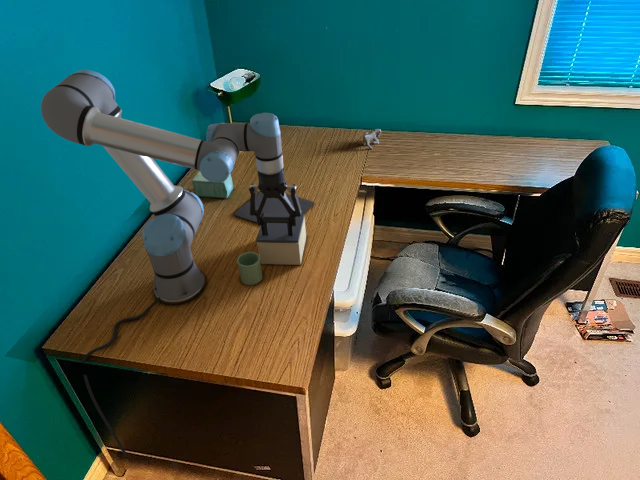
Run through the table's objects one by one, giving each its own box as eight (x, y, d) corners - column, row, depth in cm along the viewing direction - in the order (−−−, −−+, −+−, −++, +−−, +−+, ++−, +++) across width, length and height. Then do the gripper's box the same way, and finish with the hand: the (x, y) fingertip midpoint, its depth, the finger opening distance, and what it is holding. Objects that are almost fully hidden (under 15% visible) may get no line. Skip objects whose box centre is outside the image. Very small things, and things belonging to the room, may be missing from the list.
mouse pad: (314, 202, 182) (314, 202, 182) (284, 232, 168) (284, 231, 168) (264, 188, 191) (264, 187, 191) (232, 214, 178) (232, 214, 178)
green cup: (257, 286, 147) (254, 268, 143) (237, 283, 149) (233, 264, 144) (265, 271, 152) (263, 253, 148) (245, 268, 154) (242, 250, 149)
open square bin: (300, 265, 154) (298, 243, 149) (260, 263, 156) (256, 242, 150) (306, 237, 166) (304, 216, 160) (268, 236, 167) (265, 215, 162)
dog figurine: (369, 151, 212) (369, 135, 208) (359, 147, 215) (359, 131, 211) (385, 140, 219) (386, 125, 215) (375, 137, 222) (375, 122, 218)
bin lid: (298, 243, 148) (296, 222, 143) (255, 242, 149) (253, 221, 145) (304, 215, 160) (303, 196, 156) (265, 215, 162) (263, 195, 157)
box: (228, 198, 187) (224, 182, 182) (195, 196, 189) (191, 180, 185) (234, 188, 193) (231, 172, 188) (202, 187, 195) (198, 170, 190)
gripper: (308, 162, 138) (313, 226, 152) (237, 161, 140) (248, 225, 154) (305, 176, 132) (310, 241, 146) (231, 174, 134) (242, 239, 148)
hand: (278, 233), depth 150 cm, fingers closed on bin lid, 8 cm apart
